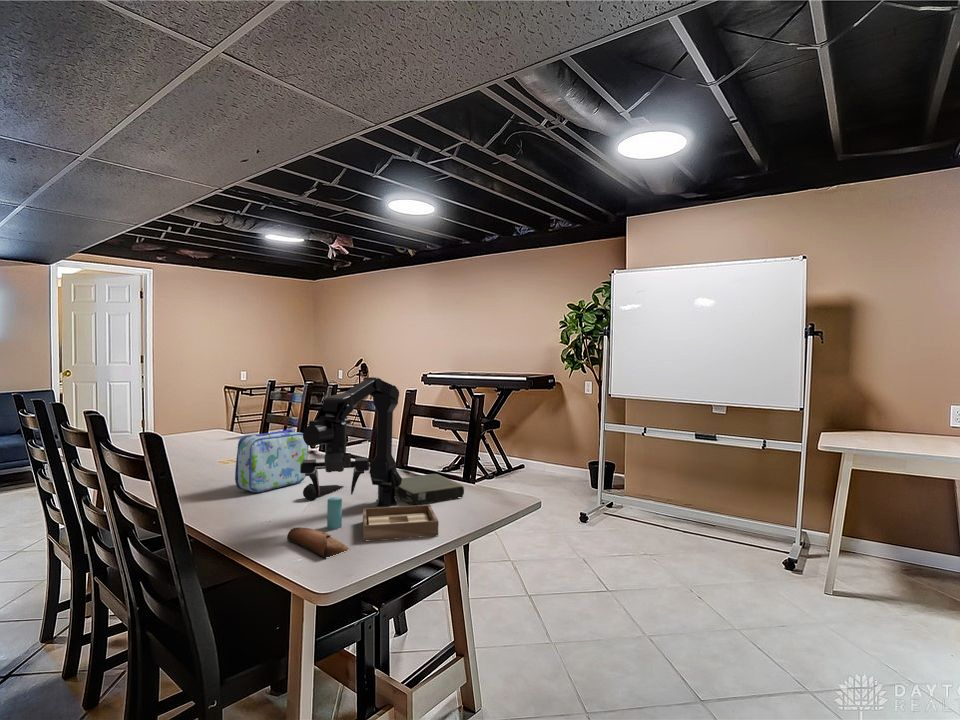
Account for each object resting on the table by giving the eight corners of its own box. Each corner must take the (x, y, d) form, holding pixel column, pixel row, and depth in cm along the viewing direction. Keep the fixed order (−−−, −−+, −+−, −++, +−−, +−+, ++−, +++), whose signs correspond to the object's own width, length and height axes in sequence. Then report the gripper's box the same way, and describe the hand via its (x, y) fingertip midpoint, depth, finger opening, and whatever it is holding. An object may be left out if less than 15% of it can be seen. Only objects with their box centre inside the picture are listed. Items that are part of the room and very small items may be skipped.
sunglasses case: (353, 549, 126) (342, 530, 123) (332, 571, 121) (320, 551, 118) (315, 532, 137) (304, 514, 135) (294, 552, 133) (282, 533, 130)
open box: (362, 522, 147) (363, 508, 147) (429, 517, 152) (429, 504, 152) (363, 541, 131) (364, 526, 131) (438, 535, 136) (438, 521, 136)
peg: (327, 525, 144) (327, 497, 144) (341, 524, 145) (342, 497, 145) (326, 530, 140) (327, 501, 140) (341, 529, 141) (341, 500, 141)
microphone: (338, 496, 186) (300, 503, 168) (335, 480, 187) (298, 486, 169) (350, 493, 184) (313, 499, 166) (347, 477, 186) (311, 482, 167)
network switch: (379, 494, 178) (379, 480, 178) (431, 484, 194) (432, 471, 194) (415, 510, 161) (416, 494, 161) (470, 497, 177) (470, 483, 177)
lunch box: (292, 478, 200) (293, 426, 200) (311, 481, 194) (311, 428, 194) (231, 492, 177) (232, 433, 177) (250, 496, 172) (251, 436, 172)
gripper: (298, 446, 132) (297, 505, 132) (369, 444, 137) (369, 501, 137) (302, 440, 143) (301, 494, 143) (368, 438, 147) (368, 490, 147)
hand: (335, 495), depth 142 cm, fingers open, 9 cm apart
